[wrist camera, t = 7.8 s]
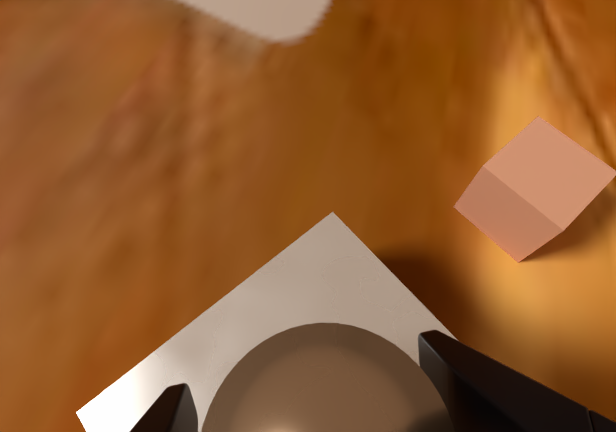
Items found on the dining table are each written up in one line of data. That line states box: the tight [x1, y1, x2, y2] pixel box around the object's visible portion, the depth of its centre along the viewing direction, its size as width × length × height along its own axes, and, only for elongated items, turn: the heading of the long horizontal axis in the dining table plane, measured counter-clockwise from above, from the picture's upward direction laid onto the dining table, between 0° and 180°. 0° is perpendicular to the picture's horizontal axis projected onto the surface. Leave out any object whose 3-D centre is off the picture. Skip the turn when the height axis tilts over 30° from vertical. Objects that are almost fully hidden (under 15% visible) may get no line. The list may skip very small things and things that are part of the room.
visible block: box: [454, 116, 616, 262], centre depth 19 cm, size 4×4×4 cm
